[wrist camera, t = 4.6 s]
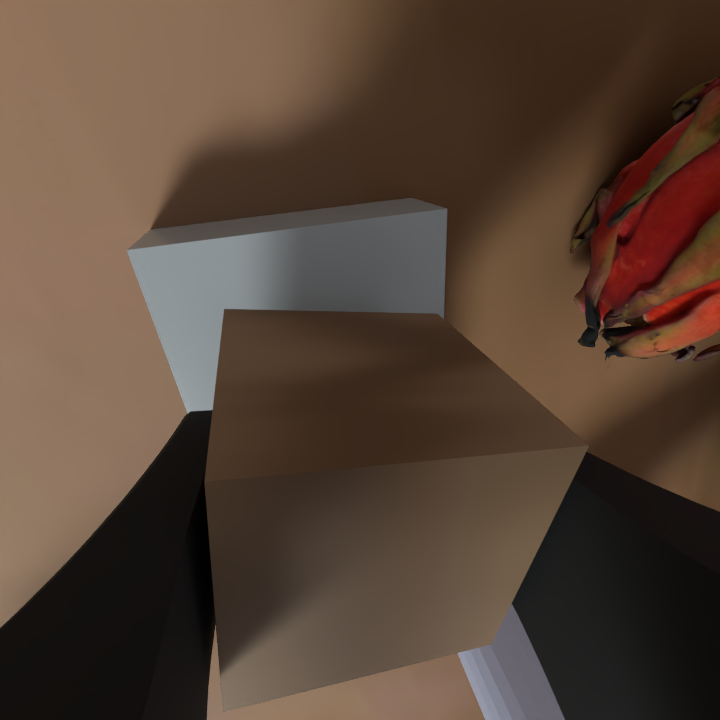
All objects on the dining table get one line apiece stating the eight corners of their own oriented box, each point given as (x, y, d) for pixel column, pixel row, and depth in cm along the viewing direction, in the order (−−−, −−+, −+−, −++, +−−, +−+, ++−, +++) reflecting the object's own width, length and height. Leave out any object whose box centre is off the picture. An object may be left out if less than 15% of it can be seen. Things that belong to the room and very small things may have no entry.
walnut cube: (437, 313, 10) (589, 445, 5) (403, 466, 12) (491, 644, 8) (223, 308, 8) (203, 482, 4) (231, 483, 11) (222, 711, 6)
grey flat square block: (407, 196, 13) (447, 208, 10) (410, 393, 17) (440, 437, 14) (152, 227, 12) (126, 249, 9) (221, 435, 16) (216, 492, 13)
